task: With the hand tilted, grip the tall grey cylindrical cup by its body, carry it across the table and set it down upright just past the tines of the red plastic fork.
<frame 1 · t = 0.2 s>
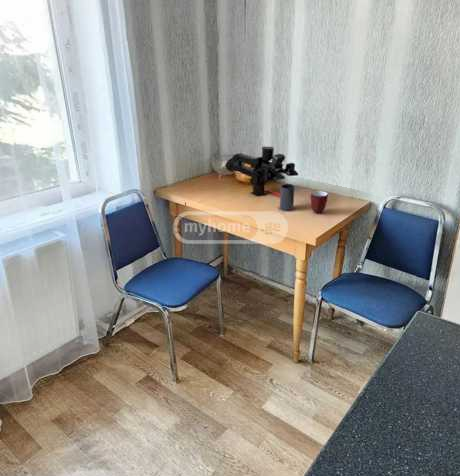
hand: (291, 176, 198), 17 cm above the table, tool horizontal, fingers open, 9 cm apart
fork: (276, 194, 222), on the table
grey cylindrical cup: (286, 208, 203), on the table
mug: (317, 213, 197), on the table
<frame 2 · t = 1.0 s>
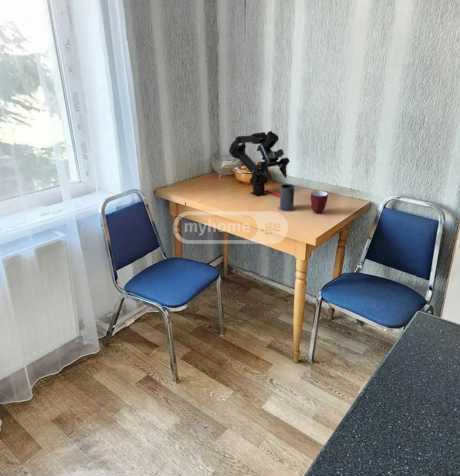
hand: (278, 178, 203), 14 cm above the table, tool tilted 45°, fingers open, 9 cm apart
nothing on the table moved.
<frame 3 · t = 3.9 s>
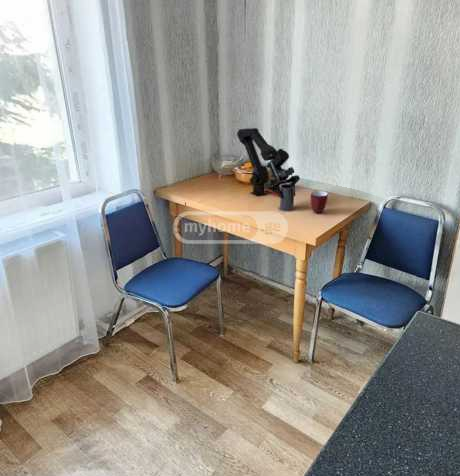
hand: (288, 197, 199), 7 cm above the table, tool tilted 45°, fingers closed on grey cylindrical cup, 7 cm apart
grey cylindrical cup: (286, 208, 203), on the table, touching gripper
everything else where it was.
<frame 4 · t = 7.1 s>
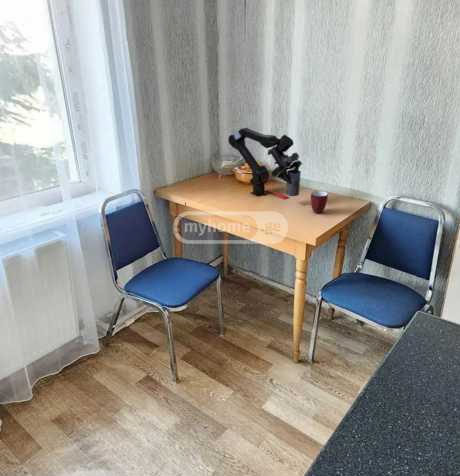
hand: (295, 182, 202), 12 cm above the table, tool tilted 45°, fingers closed on grey cylindrical cup, 7 cm apart
grey cylindrical cup: (292, 193, 206), point 6 cm above the table, touching gripper
everything else where it was.
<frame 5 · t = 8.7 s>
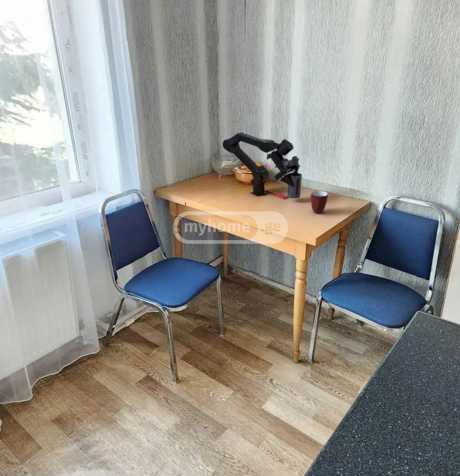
hand: (296, 184, 207), 10 cm above the table, tool tilted 45°, fingers closed on grey cylindrical cup, 7 cm apart
grey cylindrical cup: (293, 196, 211), point 3 cm above the table, touching gripper
everything else where it was.
when the fingers open (7 cm above the table, at t = 10.2 s): grey cylindrical cup stays where it is, on the table.
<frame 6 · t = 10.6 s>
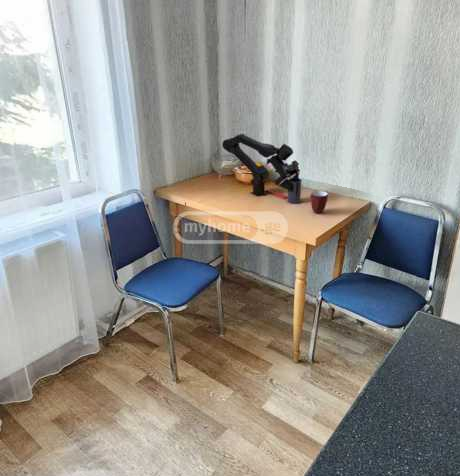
hand: (296, 189, 208), 7 cm above the table, tool tilted 45°, fingers open, 9 cm apart
grey cylindrical cup: (293, 201, 212), on the table
everything else where it was.
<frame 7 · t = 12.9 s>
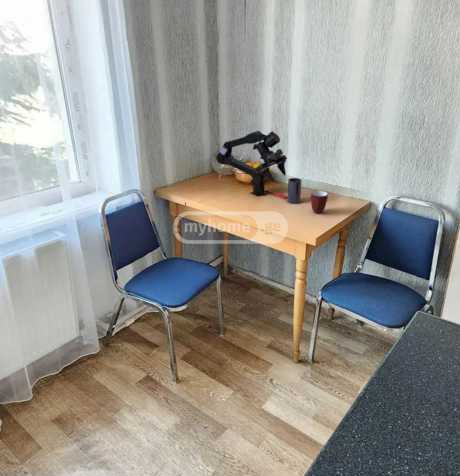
hand: (279, 177, 210), 12 cm above the table, tool tilted 40°, fingers open, 9 cm apart
nothing on the table moved.
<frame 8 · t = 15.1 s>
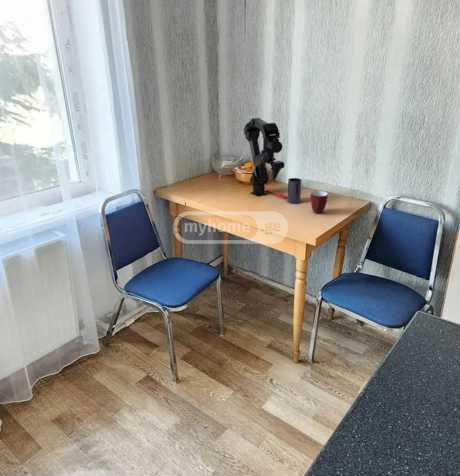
hand: (267, 178, 207), 13 cm above the table, tool pointing down, fingers open, 9 cm apart
nothing on the table moved.
at the end: grey cylindrical cup 0.1 cm from the target spot on the table beside the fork, on the table; grey cylindrical cup tilted 0°; the gripper is holding nothing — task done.
